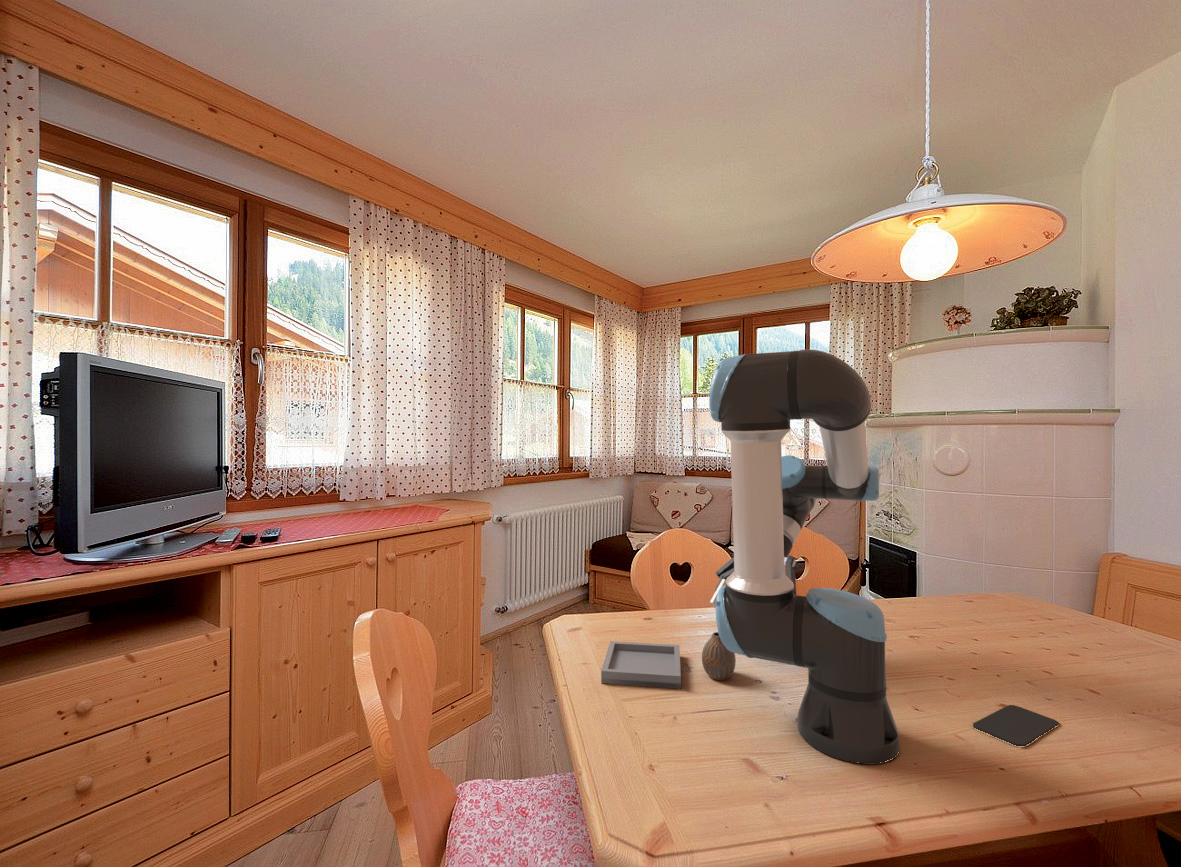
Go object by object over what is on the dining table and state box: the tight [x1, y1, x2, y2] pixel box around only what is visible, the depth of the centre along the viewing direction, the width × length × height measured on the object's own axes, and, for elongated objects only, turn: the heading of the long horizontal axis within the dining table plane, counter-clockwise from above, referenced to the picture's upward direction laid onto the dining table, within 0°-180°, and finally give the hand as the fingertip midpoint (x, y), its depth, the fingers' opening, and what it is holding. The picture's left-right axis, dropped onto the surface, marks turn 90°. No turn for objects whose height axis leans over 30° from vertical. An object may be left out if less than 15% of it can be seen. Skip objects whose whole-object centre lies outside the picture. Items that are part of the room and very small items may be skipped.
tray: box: [600, 640, 682, 690], centre depth 112 cm, size 16×16×2 cm
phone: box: [972, 704, 1060, 746], centre depth 89 cm, size 7×1×15 cm
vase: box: [701, 631, 736, 681], centre depth 108 cm, size 7×7×9 cm
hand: (737, 613), depth 113 cm, fingers open, 13 cm apart
